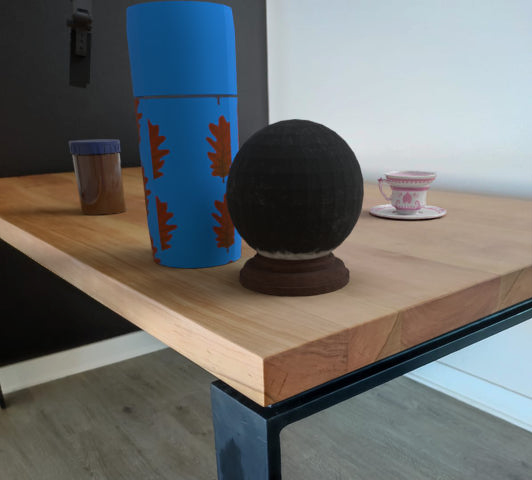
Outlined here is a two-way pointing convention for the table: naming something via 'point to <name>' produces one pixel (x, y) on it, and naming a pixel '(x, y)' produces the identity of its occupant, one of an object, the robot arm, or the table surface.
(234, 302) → the table surface
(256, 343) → the table surface
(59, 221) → the table surface
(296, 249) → the black crystal ball
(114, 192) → the jar
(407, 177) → the teacup
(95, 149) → the lid
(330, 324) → the table surface
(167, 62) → the thermos
